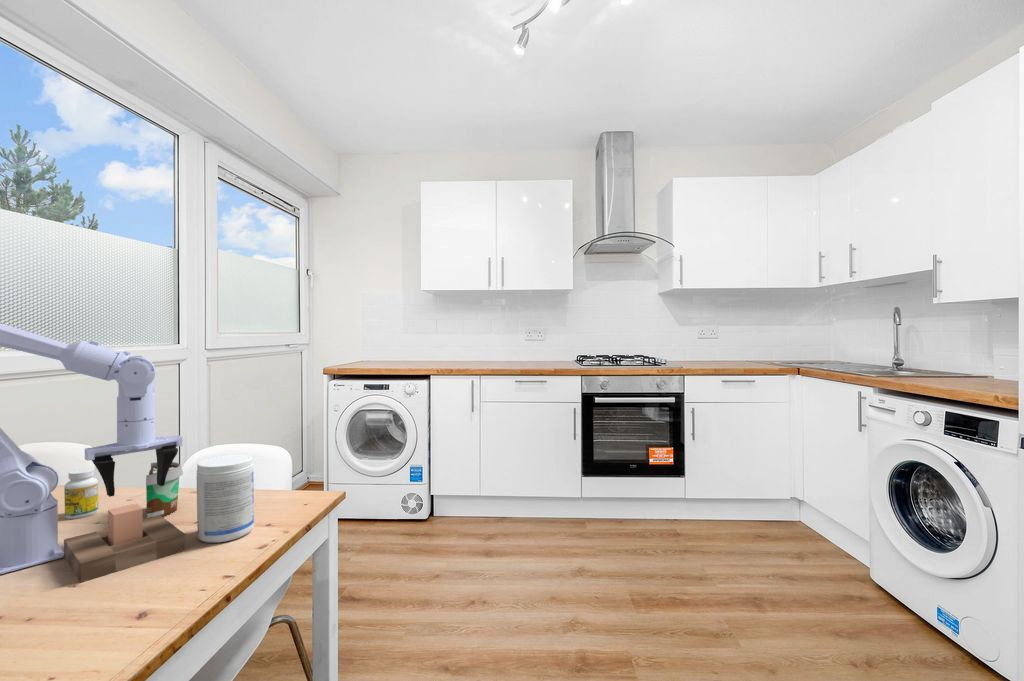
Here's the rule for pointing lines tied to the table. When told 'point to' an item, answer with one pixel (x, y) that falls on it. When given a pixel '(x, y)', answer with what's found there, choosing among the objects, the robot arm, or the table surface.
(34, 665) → the table surface
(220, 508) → the supplement tub
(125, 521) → the terracotta peg
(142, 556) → the walnut stand board
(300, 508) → the table surface
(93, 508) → the supplement bottle
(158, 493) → the food container
